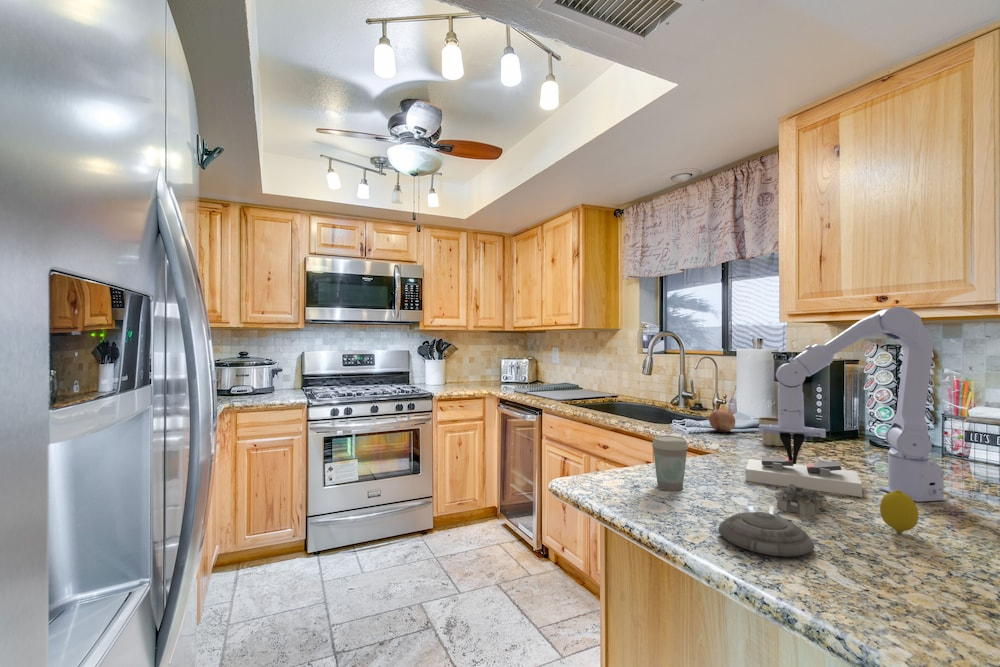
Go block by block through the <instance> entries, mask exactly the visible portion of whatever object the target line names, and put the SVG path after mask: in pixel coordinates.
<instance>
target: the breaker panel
mask: <svg viewBox="0 0 1000 667" xmlns="http://www.w3.org/2000/svg"><path fill="white" fill-rule="evenodd" d="M817 463H821V462H818V461H817ZM745 481H746V482H750V483H751V482H753V483H758V484H760V483H761V484H766V485H767V484H768V485H774V486H780V487H786V488H787V487H788V486H789V485H790V484H793V485H795V486H797V487H800V488H801V487H803V488H805V489H809V490H810V491H814V490H815V491H817V492H822V493H823V492H824V493H830V494H840V495H845V496H852V497H853V496H854V497H860V498H863V483H862V481H861V479H860V476H859V474H858V473H857V471H856V470H855V471H854V470H849V469H846V470H834V471H830V469H824V468H820V471H819V472H808V471H807V465H805V464H804V465H803V464H797V463H796V464H793V466H782V463H773V465H762V459H754V458H749V459H748V461H747V465H746V467H745Z"/></svg>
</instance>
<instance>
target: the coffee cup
mask: <svg viewBox="0 0 1000 667" xmlns="http://www.w3.org/2000/svg"><path fill="white" fill-rule="evenodd" d="M651 447H652V450H653V458H654V468H655V475H656V482H657V483H656V484H657V487H658V488H659V489H660V490H664V491H671V492H678V491H682V490H683V489H684V478H685V470H686V462H687V453H688V449H689V444H688V443H687V439H686V438H684V437H680V436H676V435H675V436H674V435H657V436H654V437H653V440H652V442H651Z"/></svg>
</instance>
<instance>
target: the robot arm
mask: <svg viewBox="0 0 1000 667" xmlns="http://www.w3.org/2000/svg"><path fill="white" fill-rule="evenodd" d="M921 318H922V317H921V316H920V315H919V314H917V313H916V312H914V311H912V310H911V309H910V308H908V307H905V306H893V307H890V308H883V309H880V310H878V311H876V312H875V313H874V314H870V315H869V316H866V317H864V318H862V319H860V320H859V321H856V322H855V323H854V324H852V325H851V326H850V327H848V328H847V329H845V330H844V331H842V332H841V333H839V334H838V335H837V336H835V337H833V338H832V339H830V340H829V341H828V342H826V343H825V344H819V343H815V344H813V345H809V344H808V345H807V346H805V348H804V349H805V350H804V351H803V352H800V353H799V354H798V355H796V356H795V357H794V358H793V357H789V359H788V362H789V363H786V362H785V363H783V364H781V365H780V366H778V368H777V370H776V373H775V377H776V379H777V381H778V385H777V390H778V391H777V418H778V425H762V424H760V423H759V425H758V431H759V433H760V434H762V433H776V434H780V439H781V441H782V443H783V447H784V449H785V451H786V454H787V457H788V458H789V460H792V458H793V464H797V460H798V455H799V452H800V449H801V448H802V445H803V443H804V441H805V440H806V439H805V438H806V437H816V438H817V437H818V438H822V439H825V438H826V437H827V434H826V433H827V432H826V430H827V429H825V428H817V427H812V426H805V403H804V399H805V398H804V396H805V395H804V392H803V383H804V382H805V380H806V377H811V376H812V375H814V374H816V373H818V372H819V371H821V370H822V369H824V368H826V367H827V366H829V365H830V364H832V363H833V361H834V355H836V354H838V353H839V352H841V351H843V350H844V349H846V348H848V347H849V346H851V345H854V344H855V343H857V342H858V341H859V340H861V339H864V338H866V337H868V336H875V335H884V336H887V337H889V338H891V339H893V340H894V341H895V342H896V343H897V344H899V345H900V346H901V347H902V348H903V354H902V362H901V371H900V379H899V380H900V381H899V388H898V396H897V405H896V413H895V415H894V416H893V417H892V422H891V425H890V426H889V428H887V430H886V432H885V440H886V442H887V444H888V445H889V446H890V449H889V450H888V451H887V460H888V461H887V464H888V466H887V468H888V469H887V470H888V471H887V472H888V474H887V475H888V477H887V478H888V482H887V483H888V485H887V486H878V489H879V490H881V491H884V492H887V493H890V492H895V491H896V490H900V491H901V492H902V493H904V494H906V495H908V496H909V497H910V498H912V499H913V501H914V502H919V503H920V502H936V501H947V500H948V499H947V497H946V496H945V497H944V495H945V493H944V491H945V490H944V471H943V469H942V467H941V466H940V465H939V464H938V463H937V462H933V461H931V460H930V459H929V454H930V452H931V451H932V449H933V448H932V447H933V445H932V444H933V443H932V441H931V438H930V437H929V425H928V423H927V420H926V410H927V409H926V408H927V402H928V392H929V384H930V376H931V369H932V368H931V367H932V361H933V360H932V358H933V351H934V350H933V348H934V340H933V338H932V336H931V334H930V333H929V332H928V330H927V329H926V326H924V324H923V322H922V319H921ZM783 431H785V432H783ZM792 438H793V440H792ZM792 441H793V448H792ZM792 449H793V451H792Z"/></svg>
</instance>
